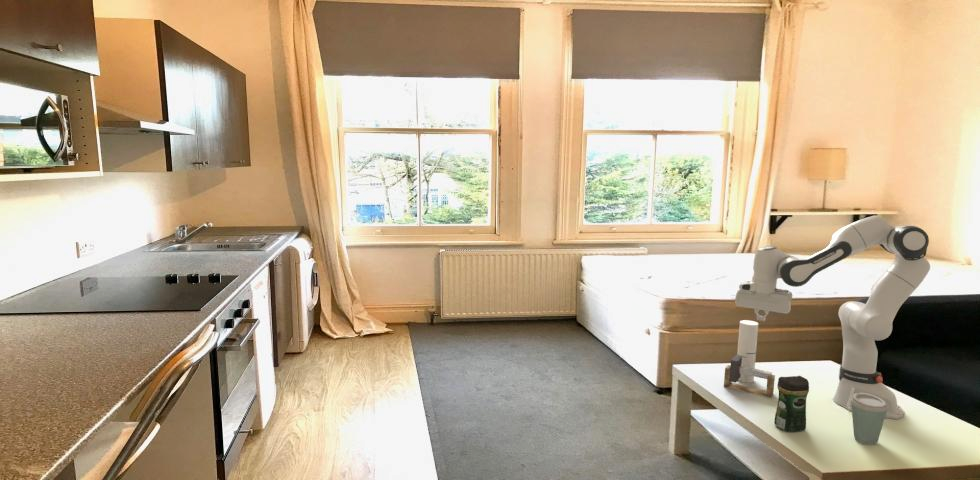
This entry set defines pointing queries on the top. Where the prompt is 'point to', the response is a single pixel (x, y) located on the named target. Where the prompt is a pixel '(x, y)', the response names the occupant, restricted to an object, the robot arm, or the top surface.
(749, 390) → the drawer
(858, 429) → the disposable coffee cup
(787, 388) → the coffee jar
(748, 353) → the cylindrical container
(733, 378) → the collar
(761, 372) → the light grey long bar
